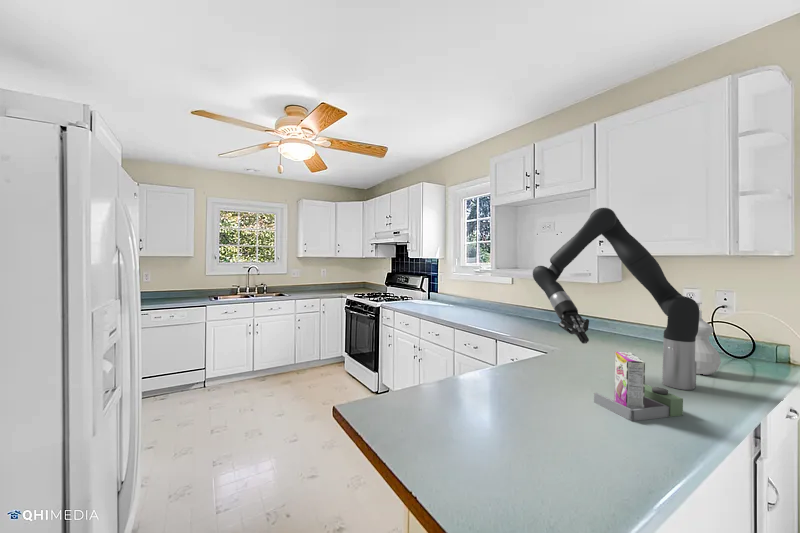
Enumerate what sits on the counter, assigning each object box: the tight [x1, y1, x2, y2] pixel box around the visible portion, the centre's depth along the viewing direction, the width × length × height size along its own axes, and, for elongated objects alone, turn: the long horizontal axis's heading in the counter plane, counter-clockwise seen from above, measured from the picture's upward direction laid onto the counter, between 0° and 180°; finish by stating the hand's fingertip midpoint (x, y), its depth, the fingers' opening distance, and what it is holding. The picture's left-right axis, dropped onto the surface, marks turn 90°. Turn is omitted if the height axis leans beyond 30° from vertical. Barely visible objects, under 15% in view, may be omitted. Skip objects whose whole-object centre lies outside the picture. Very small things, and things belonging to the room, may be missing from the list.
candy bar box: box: [613, 351, 646, 409], centre depth 108 cm, size 11×5×16 cm, turn 165°
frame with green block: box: [593, 383, 684, 422], centre depth 109 cm, size 19×14×6 cm
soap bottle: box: [694, 300, 722, 376], centre depth 147 cm, size 17×12×29 cm
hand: (586, 342), depth 130 cm, fingers closed
